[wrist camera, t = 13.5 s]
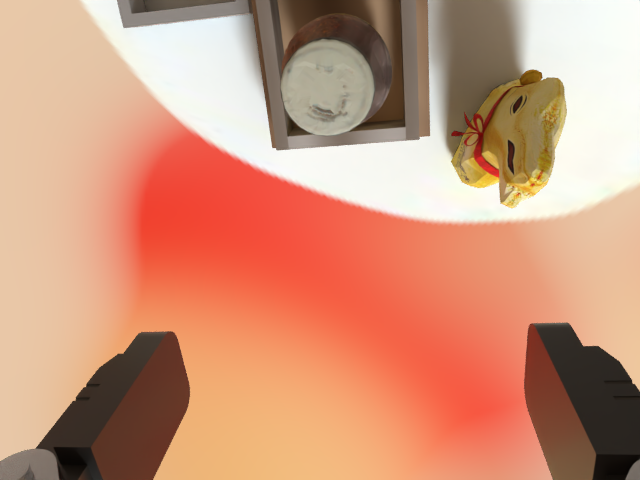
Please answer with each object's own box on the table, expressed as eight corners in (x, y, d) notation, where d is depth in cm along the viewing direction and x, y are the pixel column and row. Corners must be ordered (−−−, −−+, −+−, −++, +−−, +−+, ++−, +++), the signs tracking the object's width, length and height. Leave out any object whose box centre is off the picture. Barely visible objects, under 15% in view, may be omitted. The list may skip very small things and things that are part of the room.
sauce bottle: (345, 117, 41) (321, 202, 23) (287, 60, 40) (214, 104, 22) (405, 54, 39) (430, 95, 21) (346, -8, 37) (318, -22, 19)
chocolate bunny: (555, 79, 44) (633, 111, 30) (488, 189, 48) (529, 259, 35) (484, 45, 43) (531, 62, 30) (423, 159, 48) (439, 219, 34)
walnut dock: (420, -41, 41) (430, -53, 33) (424, 121, 47) (433, 145, 38) (264, -21, 43) (237, -28, 35) (284, 132, 48) (265, 157, 40)
